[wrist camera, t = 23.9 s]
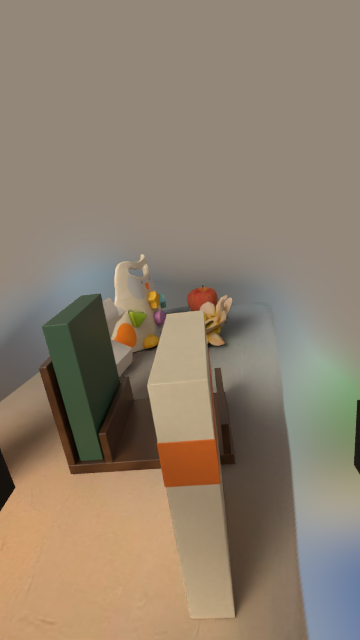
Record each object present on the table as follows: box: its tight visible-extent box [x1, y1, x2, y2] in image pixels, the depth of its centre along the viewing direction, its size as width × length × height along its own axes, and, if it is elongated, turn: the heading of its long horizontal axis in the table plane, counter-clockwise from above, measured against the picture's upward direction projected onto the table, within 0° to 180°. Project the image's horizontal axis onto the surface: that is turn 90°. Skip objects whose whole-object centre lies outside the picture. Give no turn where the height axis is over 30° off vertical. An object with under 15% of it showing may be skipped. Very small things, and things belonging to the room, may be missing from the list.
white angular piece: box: [103, 298, 133, 377], centre depth 54 cm, size 8×14×14 cm, turn 164°
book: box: [147, 310, 235, 619], centre depth 24 cm, size 3×11×18 cm, turn 177°
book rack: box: [39, 356, 235, 474], centre depth 38 cm, size 18×12×13 cm, turn 87°
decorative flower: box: [200, 295, 232, 346], centre depth 65 cm, size 15×11×10 cm
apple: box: [188, 286, 217, 311], centre depth 79 cm, size 7×7×8 cm
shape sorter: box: [111, 254, 166, 353], centre depth 69 cm, size 20×10×18 cm, turn 162°
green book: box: [42, 294, 120, 461], centre depth 38 cm, size 3×11×16 cm, turn 177°
